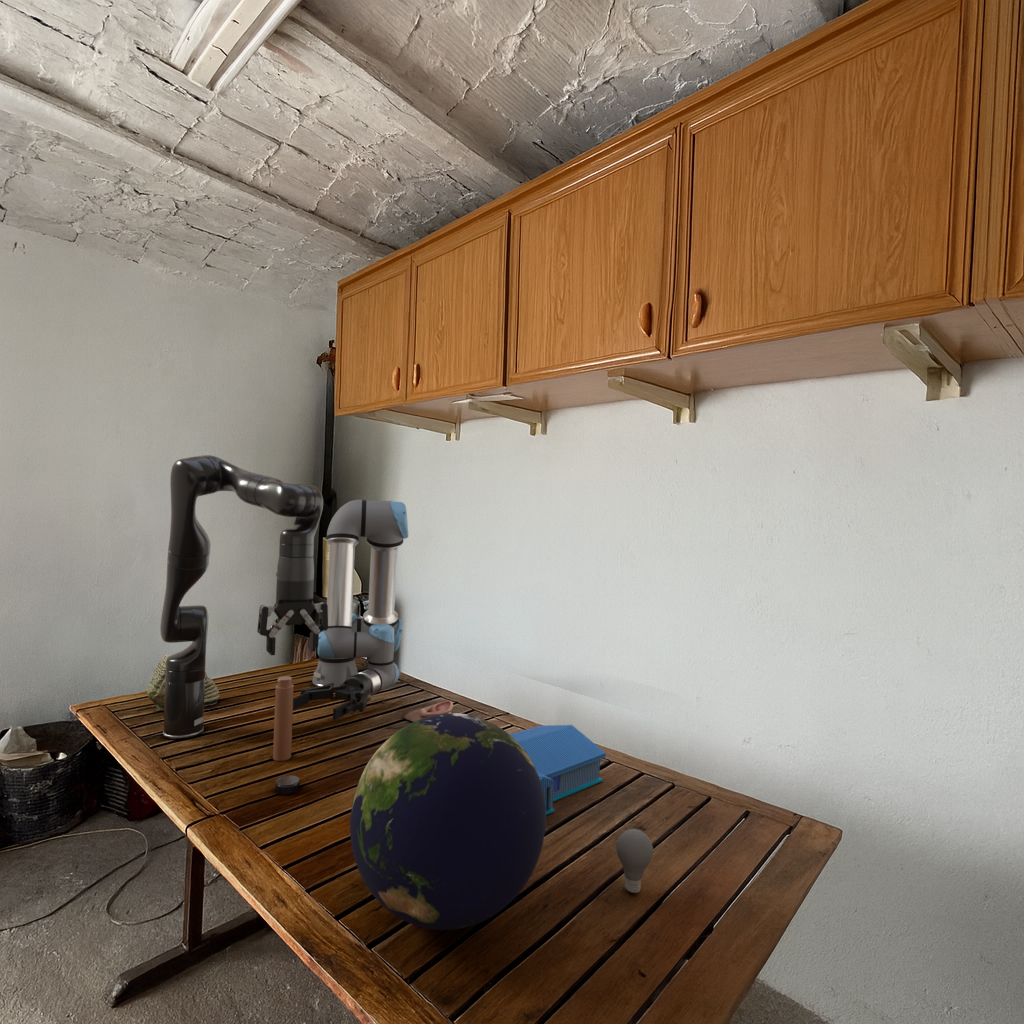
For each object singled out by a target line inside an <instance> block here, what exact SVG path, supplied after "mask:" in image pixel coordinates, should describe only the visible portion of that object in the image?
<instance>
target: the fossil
mask: <svg viewBox="0 0 1024 1024" xmlns="http://www.w3.org/2000/svg"><path fill="white" fill-rule="evenodd" d="M171 655H172V654H165V655H164V656H163V657H162V658H161V659H160V660H159V662H158V663H157V666H156V667H155V669H154V670H153V672H152V675H151V677H150V680H149V684H148V688H147V697H148V699H149V700H150V701H152V703H153V704H154V706H155V711H158V712H159V711H162V712H163V711H164V705H165V674H166V660H167V658H168V657H169V656H171ZM220 698H221V696H220V690H219V688H218V686H217V685H216V683H215V682H214V681H213V679H212V678H211V677H209V675H208V674H207V672H206V671H205V693H204V707H207V706H213V705H215V704H217V703H218V701H219V699H220Z"/></svg>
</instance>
